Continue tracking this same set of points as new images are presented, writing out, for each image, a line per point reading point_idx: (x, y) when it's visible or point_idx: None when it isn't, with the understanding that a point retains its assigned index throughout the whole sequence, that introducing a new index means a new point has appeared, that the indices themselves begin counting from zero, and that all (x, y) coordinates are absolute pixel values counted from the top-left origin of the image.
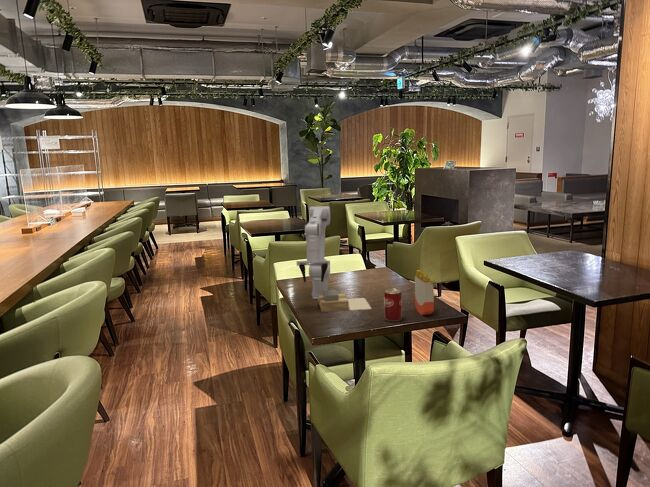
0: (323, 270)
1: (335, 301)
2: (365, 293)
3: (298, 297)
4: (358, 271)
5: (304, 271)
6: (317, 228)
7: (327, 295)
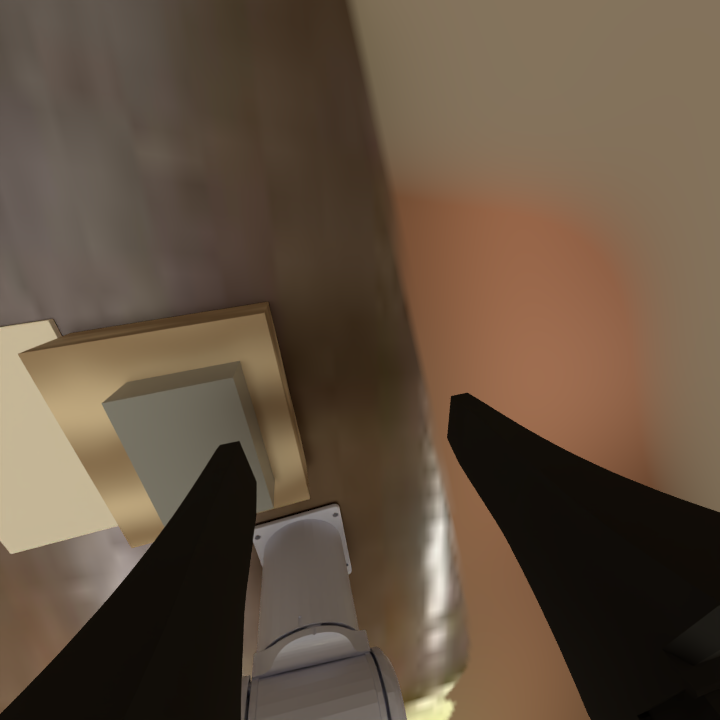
0: (120, 650)
1: (150, 356)
2: (39, 624)
3: (407, 519)
4: None
5: (596, 499)
6: None
7: (212, 389)
